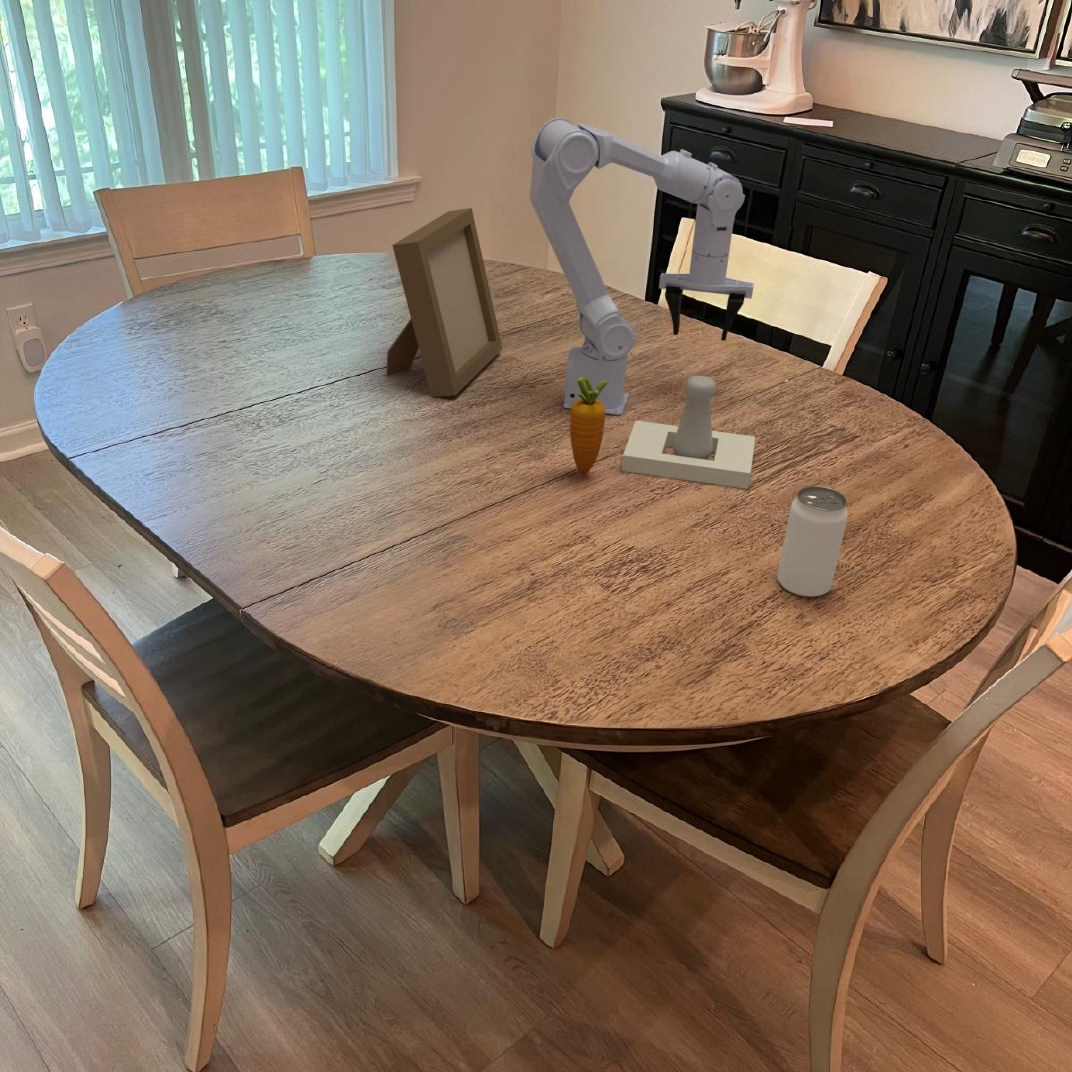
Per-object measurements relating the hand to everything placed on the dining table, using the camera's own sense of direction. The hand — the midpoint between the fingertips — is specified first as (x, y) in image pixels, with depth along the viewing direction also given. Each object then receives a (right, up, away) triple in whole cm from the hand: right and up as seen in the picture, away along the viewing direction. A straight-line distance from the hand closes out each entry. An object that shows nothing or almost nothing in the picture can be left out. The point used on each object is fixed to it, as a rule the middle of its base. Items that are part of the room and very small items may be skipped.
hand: (699, 335), depth 166 cm
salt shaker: (-4, -22, -15) cm, 26 cm away
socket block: (-4, -21, -15) cm, 26 cm away
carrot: (-20, -24, -20) cm, 37 cm away
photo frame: (-43, -4, +11) cm, 44 cm away
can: (+6, -38, -41) cm, 56 cm away
